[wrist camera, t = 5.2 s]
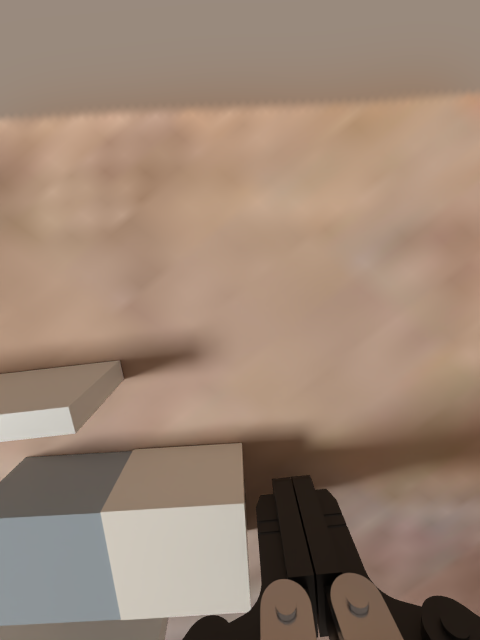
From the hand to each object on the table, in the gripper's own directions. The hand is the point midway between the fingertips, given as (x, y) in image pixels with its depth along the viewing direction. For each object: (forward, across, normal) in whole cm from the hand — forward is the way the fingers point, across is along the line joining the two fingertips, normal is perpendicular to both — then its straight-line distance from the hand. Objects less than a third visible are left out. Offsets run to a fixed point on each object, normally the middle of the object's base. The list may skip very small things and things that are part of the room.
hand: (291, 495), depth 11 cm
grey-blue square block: (+1, +9, 0) cm, 9 cm away
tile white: (+1, +4, 0) cm, 4 cm away
